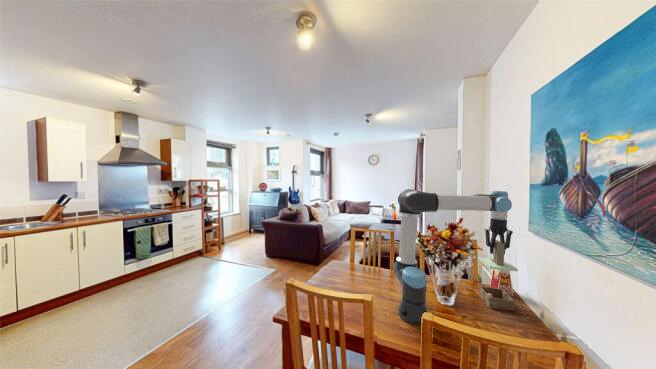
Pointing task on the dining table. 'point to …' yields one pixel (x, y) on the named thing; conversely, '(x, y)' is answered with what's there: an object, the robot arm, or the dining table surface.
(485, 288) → the walnut box
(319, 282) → the dining table surface
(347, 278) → the dining table surface
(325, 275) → the dining table surface
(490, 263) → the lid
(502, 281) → the milk carton
